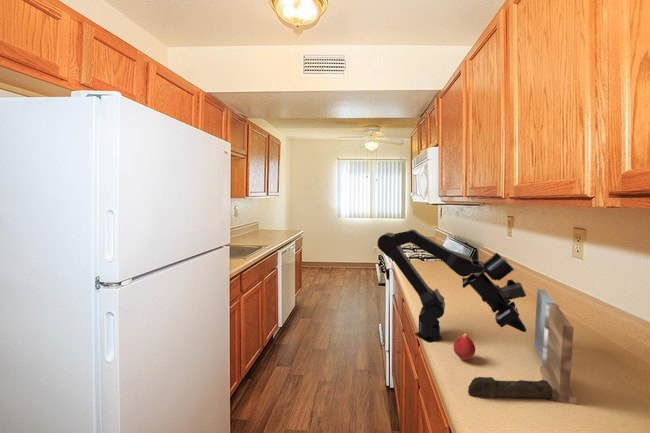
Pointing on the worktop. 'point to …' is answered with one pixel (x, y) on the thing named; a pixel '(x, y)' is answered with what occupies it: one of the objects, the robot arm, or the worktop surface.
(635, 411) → the worktop surface
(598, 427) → the worktop surface
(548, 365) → the hinge frame
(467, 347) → the onion
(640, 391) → the worktop surface
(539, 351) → the hinged leaf
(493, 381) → the hand tool
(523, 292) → the robot arm
